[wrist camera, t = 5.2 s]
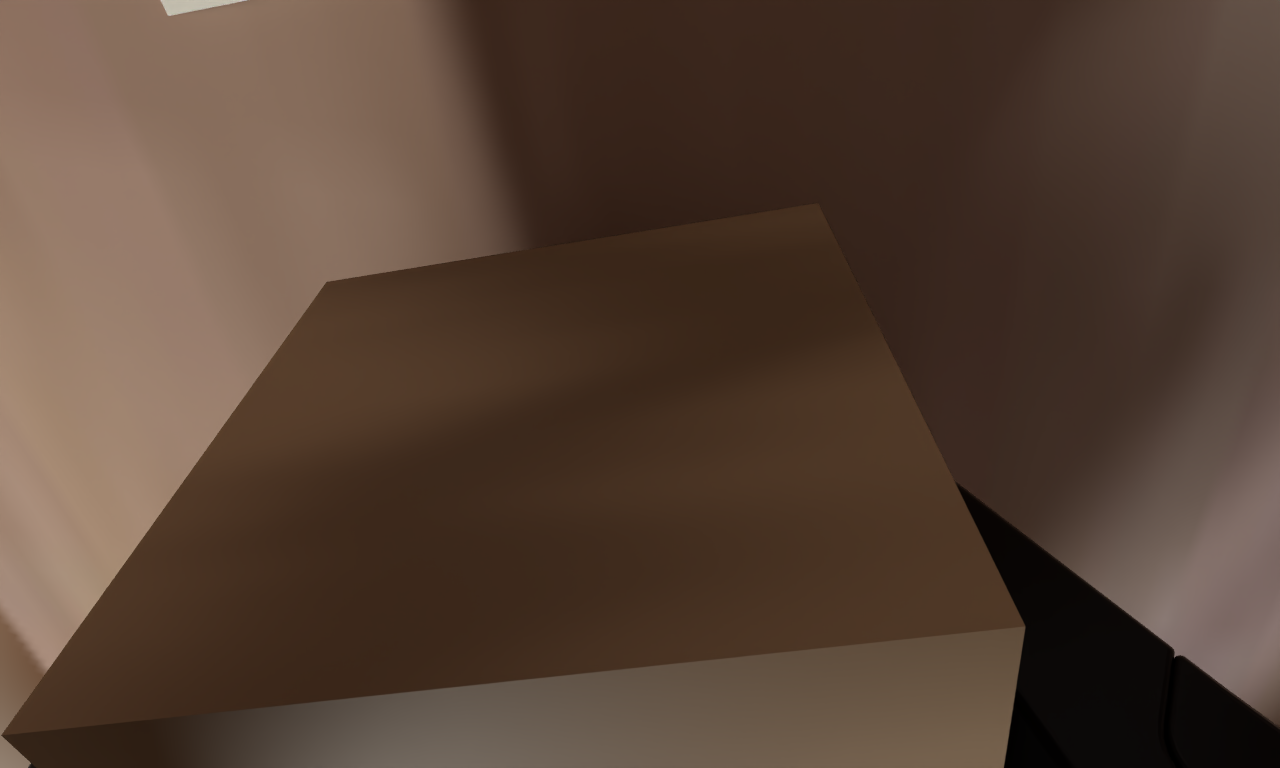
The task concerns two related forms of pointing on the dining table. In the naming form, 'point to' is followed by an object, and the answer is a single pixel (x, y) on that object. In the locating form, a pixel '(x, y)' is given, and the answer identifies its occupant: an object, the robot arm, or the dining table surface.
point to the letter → (192, 5)
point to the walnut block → (559, 535)
